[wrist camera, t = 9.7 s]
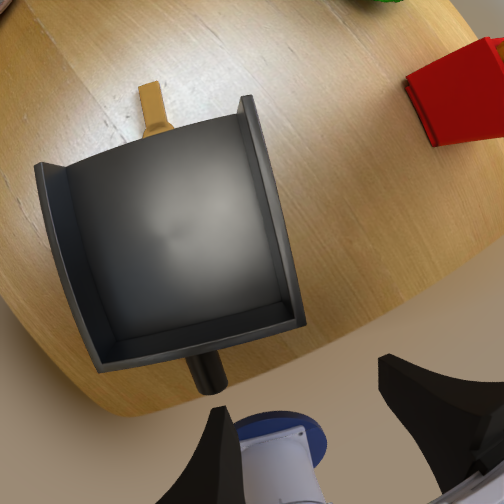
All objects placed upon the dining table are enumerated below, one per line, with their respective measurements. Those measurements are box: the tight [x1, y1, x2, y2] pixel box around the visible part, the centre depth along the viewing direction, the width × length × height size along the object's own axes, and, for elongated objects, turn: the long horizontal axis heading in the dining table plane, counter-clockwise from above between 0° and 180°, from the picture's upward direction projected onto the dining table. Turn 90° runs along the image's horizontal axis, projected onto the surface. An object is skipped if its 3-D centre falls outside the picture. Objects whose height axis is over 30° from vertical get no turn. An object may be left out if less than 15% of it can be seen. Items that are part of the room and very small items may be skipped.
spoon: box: [138, 81, 174, 138], centre depth 18 cm, size 5×2×1 cm, turn 14°
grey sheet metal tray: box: [34, 95, 307, 395], centre depth 13 cm, size 13×10×3 cm
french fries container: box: [405, 37, 504, 147], centre depth 13 cm, size 7×9×14 cm
